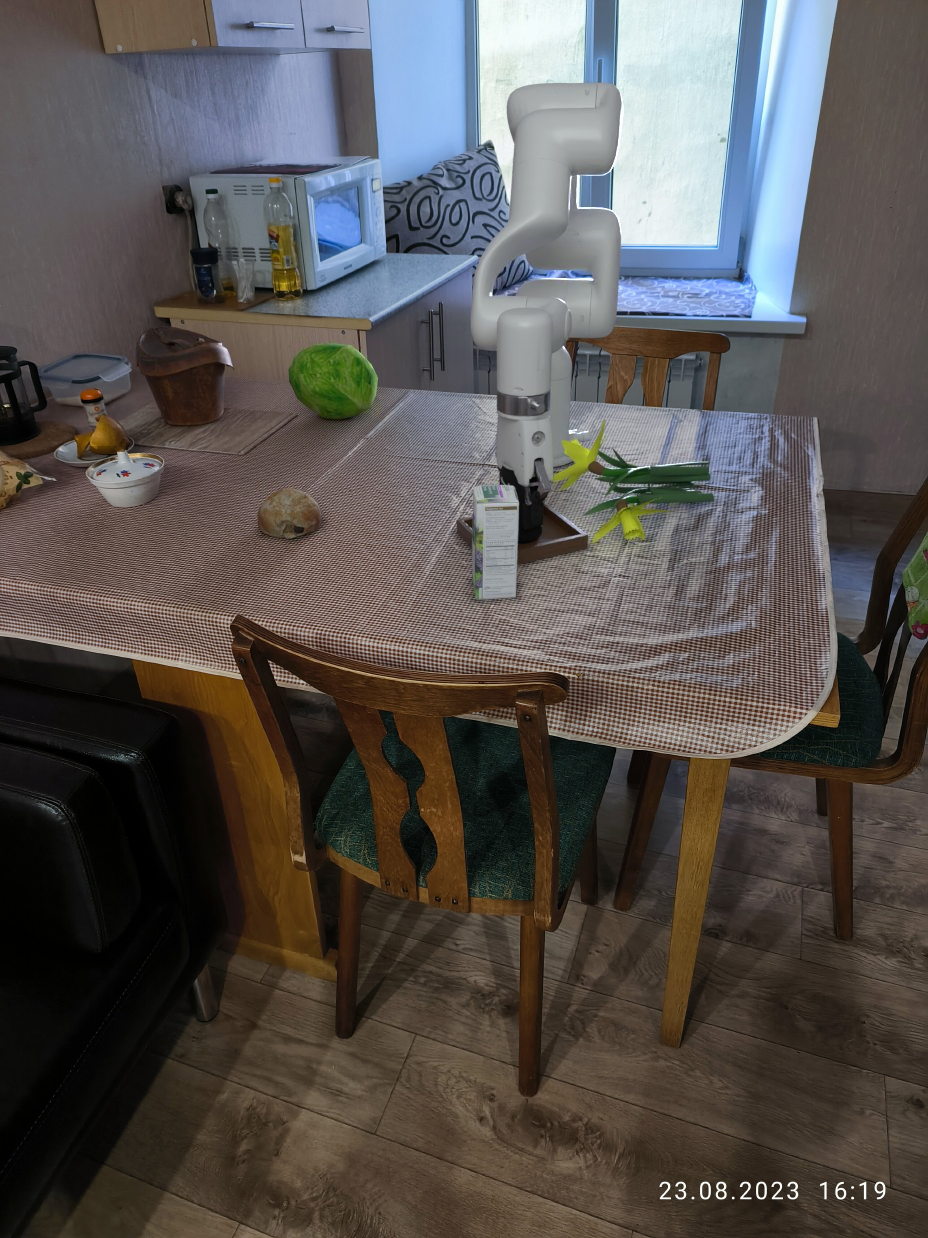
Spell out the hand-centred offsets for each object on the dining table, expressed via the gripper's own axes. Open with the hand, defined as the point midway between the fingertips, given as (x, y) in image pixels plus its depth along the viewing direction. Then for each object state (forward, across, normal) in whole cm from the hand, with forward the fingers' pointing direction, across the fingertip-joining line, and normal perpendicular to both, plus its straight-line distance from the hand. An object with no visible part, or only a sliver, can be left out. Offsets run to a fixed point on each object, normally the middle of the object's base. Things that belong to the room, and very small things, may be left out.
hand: (521, 516), depth 130 cm
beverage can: (+3, 0, 0) cm, 3 cm away
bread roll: (+4, +21, +31) cm, 38 cm away
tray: (+4, 0, 0) cm, 4 cm away
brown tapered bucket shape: (+4, +84, +36) cm, 91 cm away
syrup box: (+4, -12, +10) cm, 16 cm away
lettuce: (+4, +71, +8) cm, 72 cm away
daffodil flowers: (+4, -2, -20) cm, 21 cm away
